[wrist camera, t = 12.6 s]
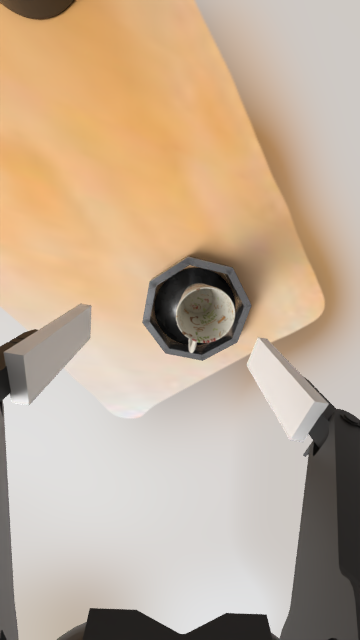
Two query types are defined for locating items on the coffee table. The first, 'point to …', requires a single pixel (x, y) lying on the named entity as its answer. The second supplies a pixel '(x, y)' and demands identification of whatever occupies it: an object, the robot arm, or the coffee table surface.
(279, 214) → the coffee table surface
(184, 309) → the mug
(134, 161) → the coffee table surface
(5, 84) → the coffee table surface
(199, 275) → the gray octagonal container
